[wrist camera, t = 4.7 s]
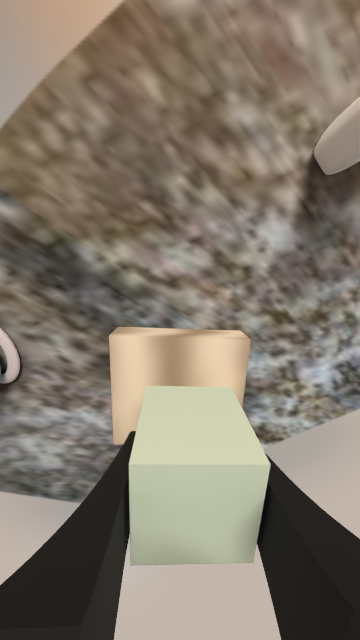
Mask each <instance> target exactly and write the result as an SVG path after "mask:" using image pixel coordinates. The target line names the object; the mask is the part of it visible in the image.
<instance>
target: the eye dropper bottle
mask: <svg viewBox="0 0 360 640" xmlns="http://www.w3.org/2000/svg"><path fill="white" fill-rule="evenodd" d="M314 156H315V159H316V160H317V162H318V164H319V166H320V167H321V169H322V171H323V172H324V173H325V174H326V175H332V174H335V173H338V172H341V171H343V170H345V169H347V168H349V167H351V166H352V165H354V164H356V163H358V162H359V161H360V97H359V98H358V99H356V100H355V101H354V102H353V103H352V104H351V105H350V106H349V107H348V108H347V109H346V110H345V111H344V112H342V113H341V114H340V115H339V116H338V117H337V118H336V119H335V120H334V121H333V122H332V123H331V125H330V126H329V127H328V128H327V129H326V131H325V132H324V133H323V135H322V136H321V138H320V140H319V141H318V143H317V145H316V147H315V149H314Z"/></svg>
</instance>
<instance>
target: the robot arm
mask: <svg viewBox="0 0 360 640" xmlns="http://www.w3.org/2000/svg"><path fill="white" fill-rule="evenodd" d="M135 434H136V431H131V432H130V433H129V435H128V437H127V439H126V440H125V442H124V444H123V446H122V447H121V449H120V451H119V452H118V454H117V456H116V457H115V459H114V460H113V462H112V463H111V465H110V466H109V468H108V469H107V471H106V472H105V474H104V475H103V476H102V478H101V479H100V480H99V482H98V483H97V485H96V486H95V487H94V488H93V490H92V491H91V492H90V494H89V495H88V496H87V497H86V499H85V500H84V501H83V502H82V503H81V505H80V506H79V507H78V508H77V509H76V510H75V512H74V513H73V514H72V515H71V516H70V517H69V518H68V519H67V521H66V522H65V523H64V524H63V525H62V526H61V527H60V528H59V529H58V530H57V531H56V533H55V534H54V535H53V536H52V537H51V538H50V539H49V540H48V541H47V542H46V543H45V544H44V545H43V546H42V547H41V548H40V549H39V550H38V551H37V552H36V553H35V554H34V555H33V556H32V557H31V558H30V559H29V560H28V561H26V562H25V563H24V564H23V565H22V566H21V567H20V568H19V569H18V570H17V571H16V572H15V573H13V574H12V576H10V577H9V578H8V579H7V580H6V581H5V582H4V583H3V584H1V585H0V640H114V633H115V625H116V618H117V611H118V604H119V597H120V589H121V583H122V575H123V569H124V562H125V554H126V550H127V544H128V539H129V535H130V507H129V461H130V456H131V452H132V448H133V443H134V439H135ZM265 454H266V453H265ZM266 456H267V458H268V460H269V462H270V464H271V465H270V471H269V476H268V482H267V488H266V493H265V499H264V505H263V510H262V516H261V522H260V527H259V533H258V538H257V545H258V548H259V552H260V555H261V559H262V563H263V567H264V571H265V574H266V578H267V582H268V586H269V590H270V594H271V598H272V602H273V606H274V610H275V615H276V619H277V623H278V627H279V631H280V636H281V640H360V539H359V538H358V537H356V536H355V535H354V534H353V533H351V532H350V531H348V530H347V529H346V528H345V527H344V526H342V525H341V524H340V523H339V522H337V521H336V520H335V519H333V518H332V517H331V516H330V515H329V514H327V513H326V512H325V511H324V510H322V509H321V508H320V507H319V506H318V505H317V504H316V503H314V501H312V500H311V499H310V498H309V497H308V496H307V495H306V494H305V493H304V492H302V491H301V490H300V489H299V488H298V487H297V486H296V485H295V484H294V483H293V482H292V481H291V480H290V479H289V478H288V477H287V476H286V475H285V474H284V473H283V472H282V471H281V470H280V468H279V467H278V466H277V465H276V464H275V463H274V462H273V461H272V460H271V459H270V458H269V457H268V455H267V454H266Z"/></svg>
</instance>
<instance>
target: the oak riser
mask: <svg viewBox="0 0 360 640" xmlns="http://www.w3.org/2000/svg"><path fill="white" fill-rule="evenodd" d="M250 342H251V340H250V339H249V338H248V337H247V336H246V335H245V334H244V333H242V332H241V331H235V330H202V329H170V328H137V327H117V328H116V329H115V330H114V331H113V332H112V333H111V334H110V335H109V345H110V369H111V394H112V418H113V442H114V444H124V442H125V440H126V439H127V437H128V435H129V433H130V432H131V431H136V430H137V425H138V421H139V417H140V412H141V408H142V403H143V399H144V395H145V390H146V386H195V387H231V388H232V390H233V392H234V394H235V396H236V397H237V399H238V401H239V403H240V405H241V407H242V404H243V396H244V388H245V381H246V373H247V365H248V357H249V350H250Z"/></svg>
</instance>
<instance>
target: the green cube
mask: <svg viewBox="0 0 360 640" xmlns="http://www.w3.org/2000/svg"><path fill="white" fill-rule="evenodd" d="M270 465H271V464H270V462H269V460H268V458H267V456H266V454H265V452H264V451H263V449H262V447H261V445H260V443H259V441H258V439H257V437H256V435H255V433H254V431H253V429H252V427H251V425H250V423H249V421H248V419H247V417H246V415H245V413H244V411H243V409H242V407H241V405H240V403H239V401H238V399H237V397H236V396H235V394H234V392H233V390H232V388H231V387H195V386H146V390H145V395H144V399H143V403H142V408H141V412H140V417H139V421H138V425H137V430H136V434H135V439H134V443H133V448H132V452H131V456H130V461H129V507H130V560H131V565H175V564H176V565H177V564H222V563H223V564H224V563H225V564H226V563H253V561H254V555H255V550H256V544H257V538H258V533H259V527H260V522H261V516H262V510H263V505H264V499H265V493H266V488H267V482H268V476H269V471H270Z"/></svg>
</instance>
